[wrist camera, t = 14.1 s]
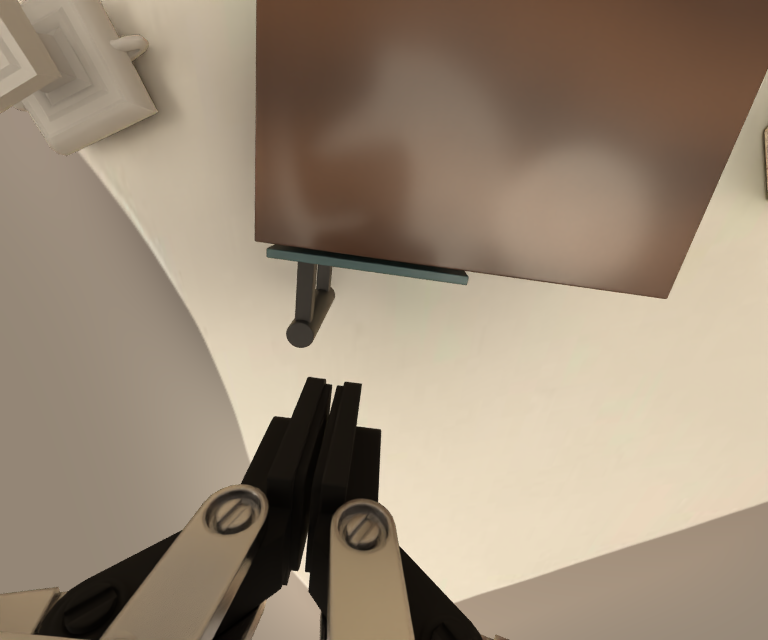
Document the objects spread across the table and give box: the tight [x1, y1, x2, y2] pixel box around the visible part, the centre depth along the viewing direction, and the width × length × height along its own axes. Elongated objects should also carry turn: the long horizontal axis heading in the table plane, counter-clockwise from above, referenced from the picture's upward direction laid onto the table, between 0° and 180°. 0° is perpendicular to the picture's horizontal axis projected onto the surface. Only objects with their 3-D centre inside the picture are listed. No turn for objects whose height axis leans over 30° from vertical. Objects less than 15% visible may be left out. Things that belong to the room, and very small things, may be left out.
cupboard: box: [255, 0, 768, 299], centre depth 19 cm, size 11×18×11 cm, turn 82°
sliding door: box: [267, 244, 469, 348], centre depth 21 cm, size 5×9×10 cm, turn 82°
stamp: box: [0, 0, 158, 156], centre depth 19 cm, size 9×7×8 cm
